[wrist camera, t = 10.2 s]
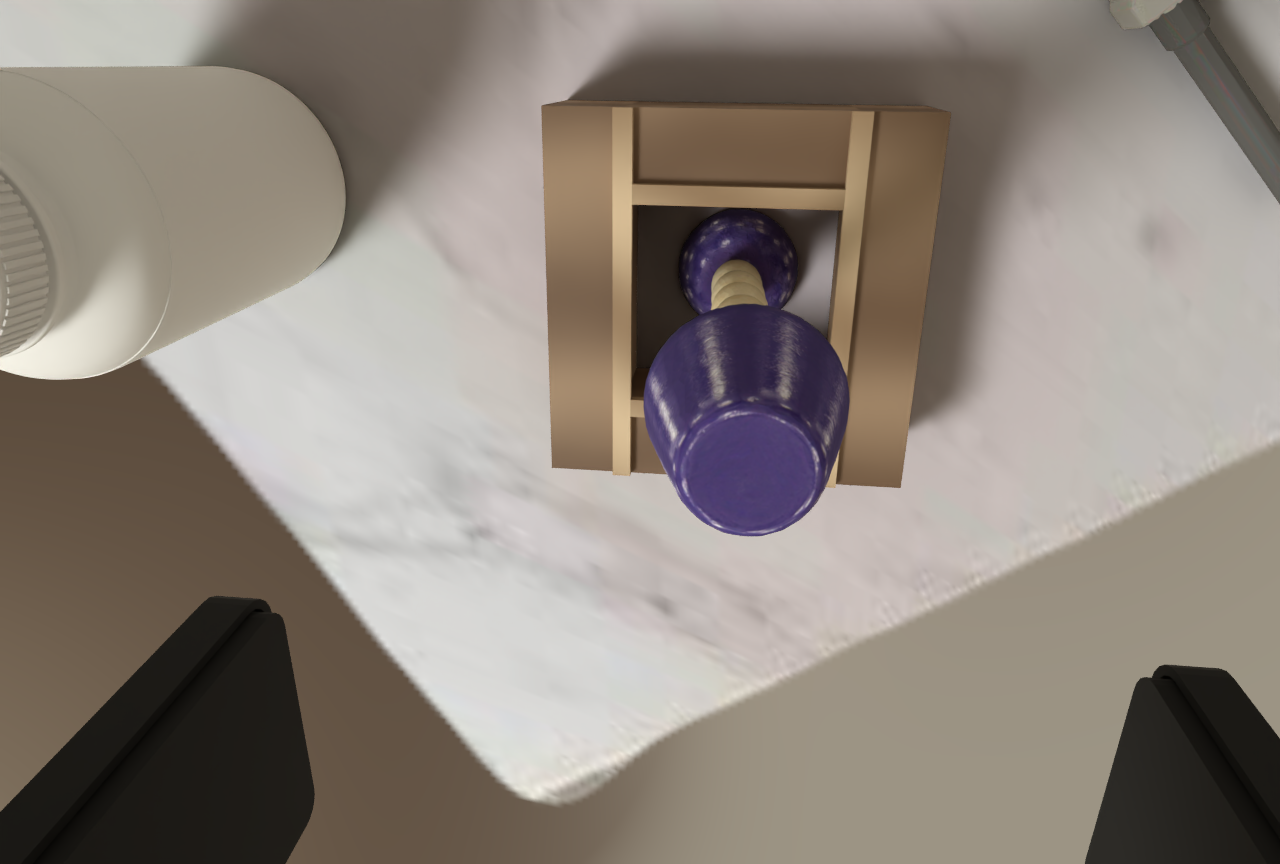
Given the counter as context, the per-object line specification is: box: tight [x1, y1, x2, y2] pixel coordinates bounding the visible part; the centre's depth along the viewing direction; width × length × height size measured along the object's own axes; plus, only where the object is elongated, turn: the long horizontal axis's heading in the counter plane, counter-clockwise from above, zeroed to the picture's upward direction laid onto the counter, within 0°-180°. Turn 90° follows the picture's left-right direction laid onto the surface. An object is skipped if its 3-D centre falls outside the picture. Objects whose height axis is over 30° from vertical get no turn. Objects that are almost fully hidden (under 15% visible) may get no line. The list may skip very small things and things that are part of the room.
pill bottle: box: [0, 66, 346, 379], centre depth 26 cm, size 8×8×15 cm
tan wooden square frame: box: [541, 100, 951, 488], centre depth 30 cm, size 12×12×4 cm
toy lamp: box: [643, 209, 850, 536], centre depth 25 cm, size 5×5×17 cm
